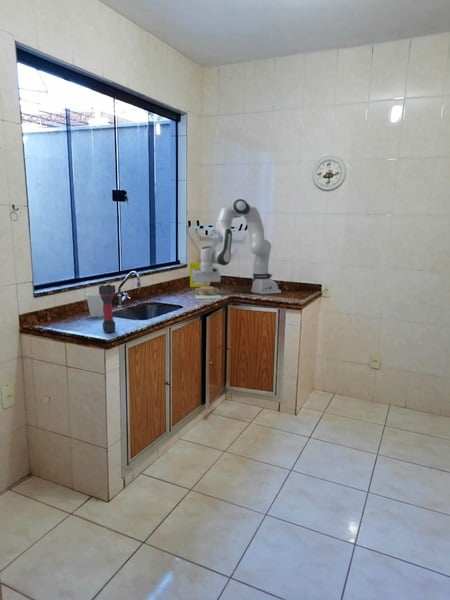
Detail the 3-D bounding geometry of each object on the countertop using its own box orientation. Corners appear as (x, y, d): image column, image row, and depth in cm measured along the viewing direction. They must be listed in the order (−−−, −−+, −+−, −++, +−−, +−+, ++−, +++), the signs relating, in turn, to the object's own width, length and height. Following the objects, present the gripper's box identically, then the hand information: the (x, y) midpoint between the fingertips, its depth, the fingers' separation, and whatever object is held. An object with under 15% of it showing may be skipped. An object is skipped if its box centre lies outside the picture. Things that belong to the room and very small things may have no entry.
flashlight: (110, 335, 195) (108, 287, 191) (97, 333, 198) (94, 286, 194) (121, 331, 202) (118, 284, 198) (108, 329, 205) (106, 283, 201)
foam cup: (86, 315, 234) (84, 293, 232) (102, 314, 239) (101, 291, 236) (90, 319, 226) (88, 296, 224) (106, 317, 231) (105, 294, 228)
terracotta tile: (213, 289, 298) (213, 286, 298) (212, 291, 293) (212, 288, 292) (200, 289, 299) (200, 286, 298) (200, 291, 293) (200, 288, 292)
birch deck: (216, 292, 308) (216, 287, 307) (218, 295, 298) (218, 289, 297) (195, 293, 305) (195, 288, 305) (196, 295, 296) (196, 290, 295)
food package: (208, 287, 334) (208, 262, 330) (208, 287, 333) (208, 262, 329) (190, 286, 336) (189, 262, 332) (190, 287, 335) (189, 262, 331)
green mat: (219, 295, 297) (219, 294, 297) (222, 298, 285) (222, 298, 285) (195, 295, 295) (195, 295, 295) (196, 299, 282) (196, 298, 282)
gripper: (191, 269, 294) (192, 288, 296) (220, 269, 293) (220, 288, 296) (192, 268, 300) (192, 287, 302) (220, 268, 299) (220, 287, 302)
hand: (206, 287), depth 299 cm, fingers closed, pressing on terracotta tile
